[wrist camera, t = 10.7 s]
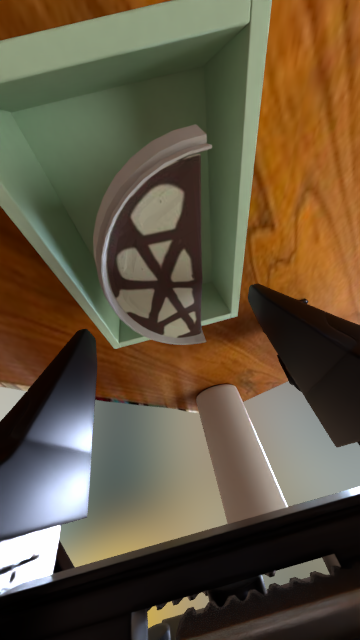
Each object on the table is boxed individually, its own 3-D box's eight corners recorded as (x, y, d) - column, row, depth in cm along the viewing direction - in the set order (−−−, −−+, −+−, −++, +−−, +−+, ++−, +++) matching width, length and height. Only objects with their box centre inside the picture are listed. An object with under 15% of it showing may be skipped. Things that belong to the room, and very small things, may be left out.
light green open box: (213, 42, 11) (275, -26, 6) (216, 282, 24) (237, 316, 19) (-10, 96, 10) (-114, 65, 6) (117, 308, 23) (114, 349, 19)
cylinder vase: (241, 379, 50) (300, 507, 33) (229, 397, 59) (271, 504, 42) (198, 387, 47) (237, 528, 30) (193, 404, 56) (221, 520, 39)
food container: (76, 141, 12) (8, 147, 5) (166, 129, 12) (213, 121, 6) (130, 289, 21) (131, 362, 14) (181, 279, 21) (205, 346, 15)
